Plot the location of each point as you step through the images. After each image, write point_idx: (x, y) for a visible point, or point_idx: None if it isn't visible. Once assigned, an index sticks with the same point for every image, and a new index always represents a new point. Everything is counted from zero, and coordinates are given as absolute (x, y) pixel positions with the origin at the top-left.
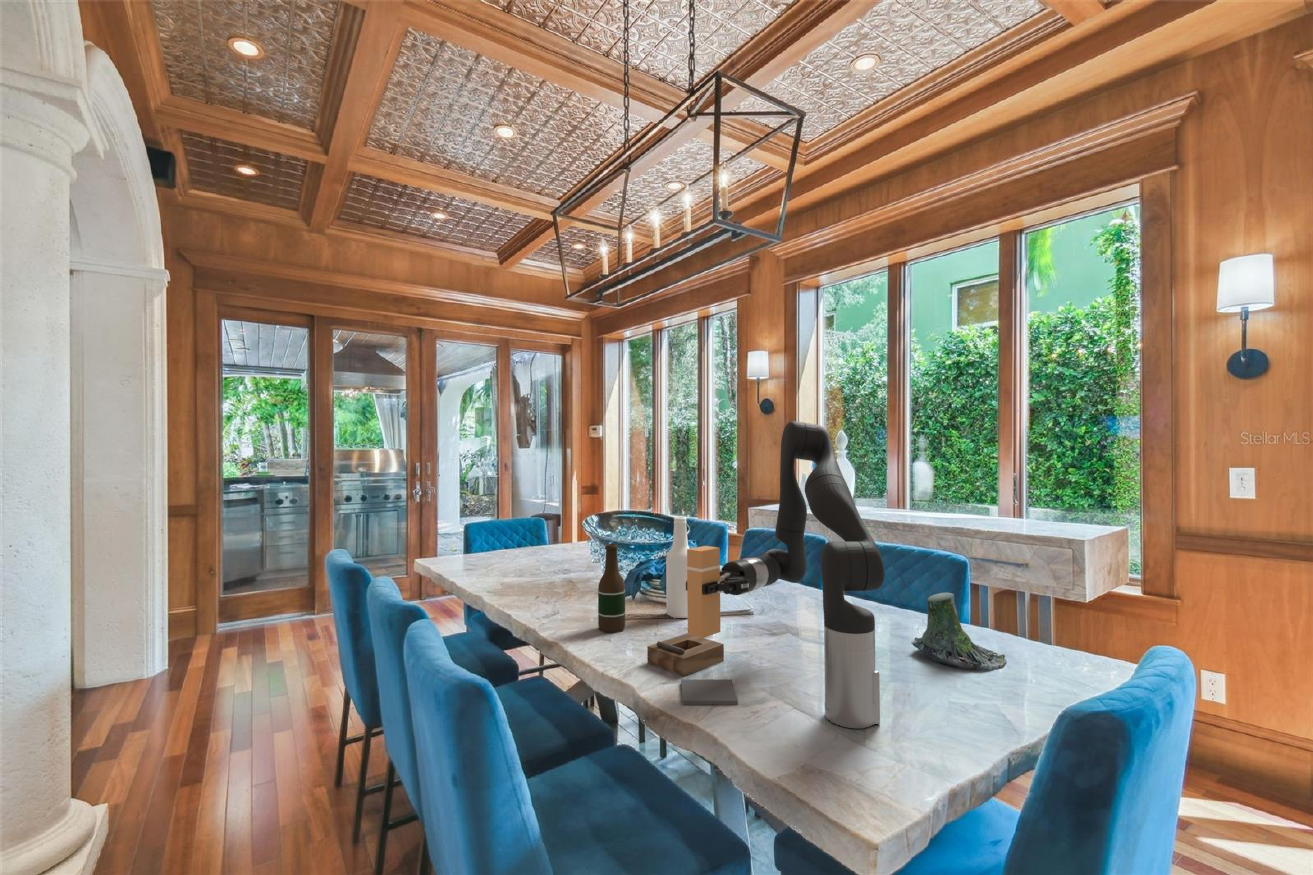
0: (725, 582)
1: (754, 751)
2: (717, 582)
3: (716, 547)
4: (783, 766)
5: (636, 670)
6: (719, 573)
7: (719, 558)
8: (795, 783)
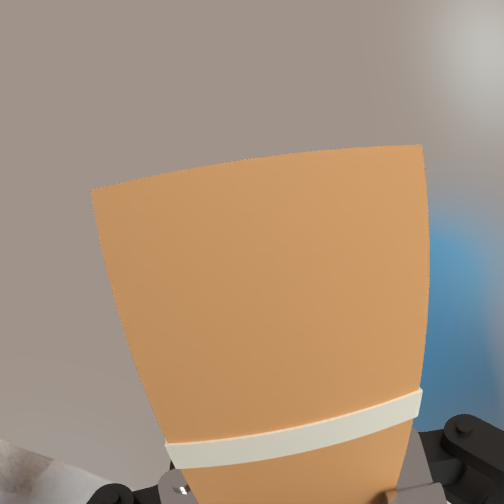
0: (114, 484)
1: (84, 491)
2: (178, 473)
3: (156, 175)
4: (47, 481)
5: None
6: (197, 496)
7: (137, 365)
8: (33, 463)
